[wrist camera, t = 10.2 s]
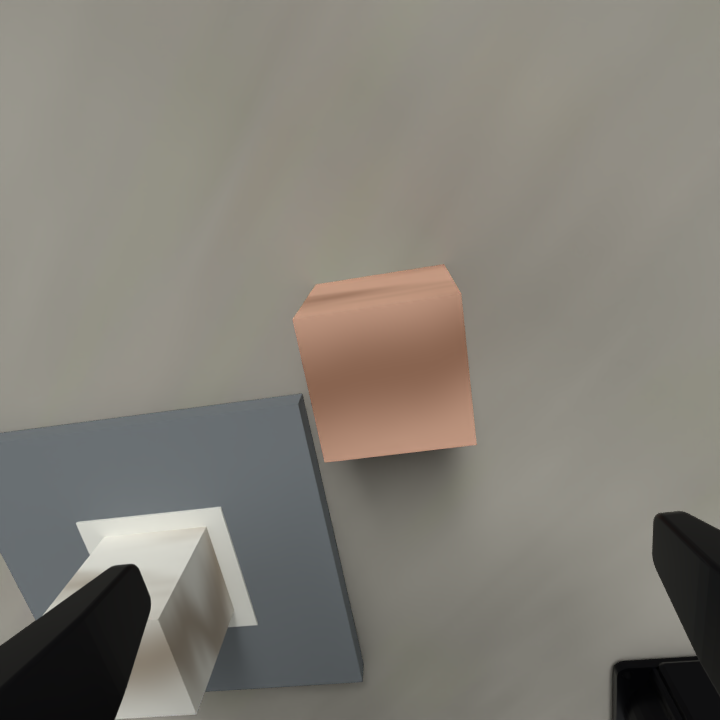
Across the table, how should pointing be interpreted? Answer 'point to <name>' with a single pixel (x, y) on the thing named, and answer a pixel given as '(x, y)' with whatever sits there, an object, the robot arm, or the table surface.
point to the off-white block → (168, 616)
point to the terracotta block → (387, 364)
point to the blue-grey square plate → (194, 524)
